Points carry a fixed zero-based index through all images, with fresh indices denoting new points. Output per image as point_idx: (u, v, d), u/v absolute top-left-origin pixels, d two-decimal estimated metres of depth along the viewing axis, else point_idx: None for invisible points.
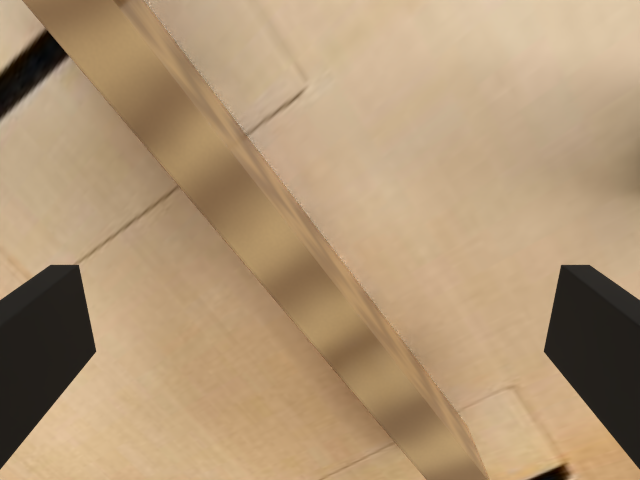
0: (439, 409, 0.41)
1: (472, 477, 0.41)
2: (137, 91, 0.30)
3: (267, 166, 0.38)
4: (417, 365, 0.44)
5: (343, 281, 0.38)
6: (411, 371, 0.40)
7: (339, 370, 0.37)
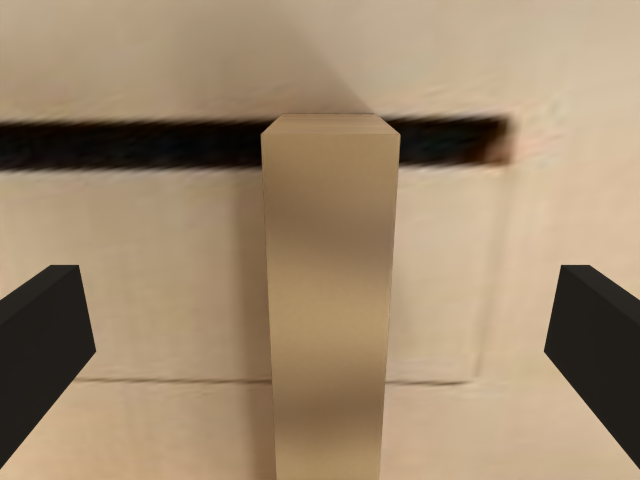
0: None
1: None
2: (323, 375, 0.18)
3: None
4: None
5: None
6: None
7: None
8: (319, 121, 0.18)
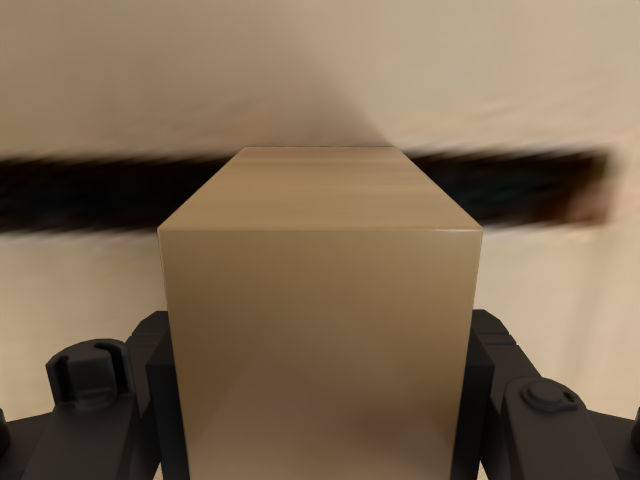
0: None
1: None
2: None
3: None
4: None
5: None
6: None
7: None
8: (301, 171, 0.10)
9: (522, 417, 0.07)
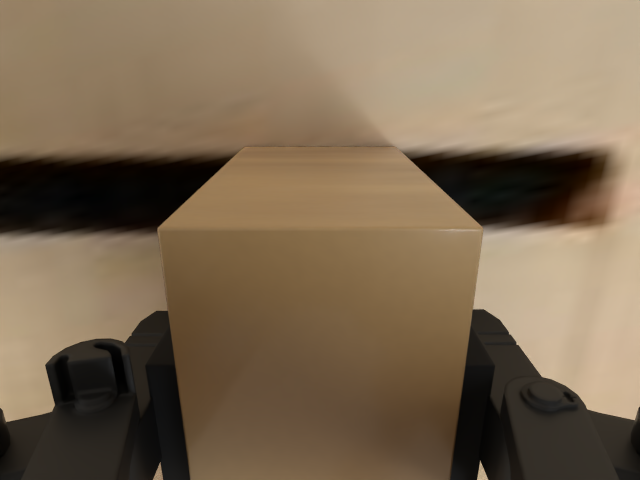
0: None
1: None
2: None
3: None
4: None
5: None
6: None
7: None
8: (301, 171, 0.10)
9: (522, 417, 0.07)
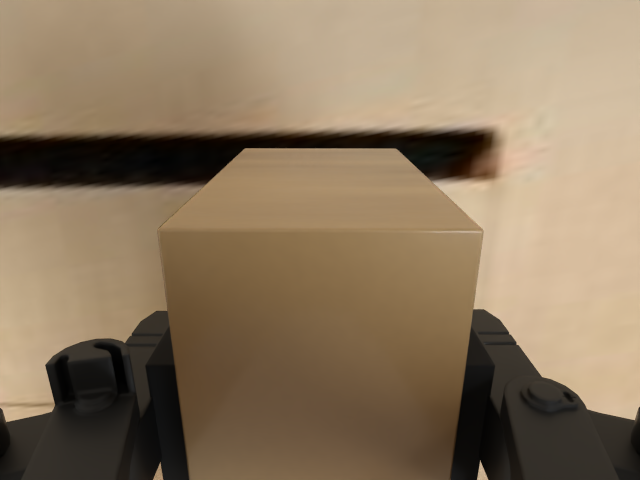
0: None
1: None
2: None
3: None
4: None
5: None
6: None
7: None
8: (301, 173, 0.10)
9: (522, 417, 0.07)
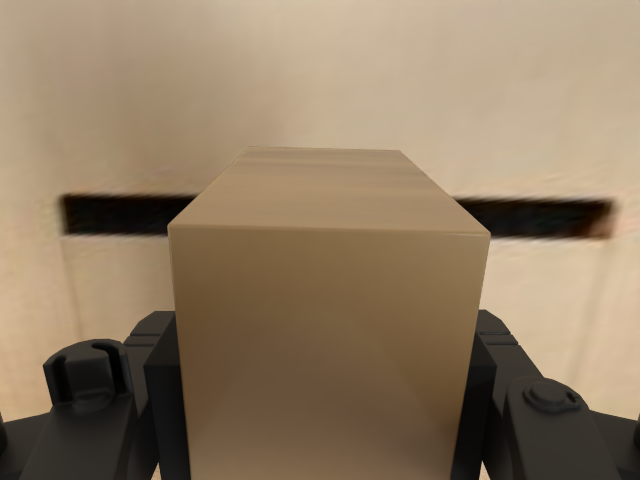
0: None
1: None
2: None
3: None
4: None
5: None
6: None
7: None
8: (307, 172, 0.10)
9: (525, 418, 0.07)
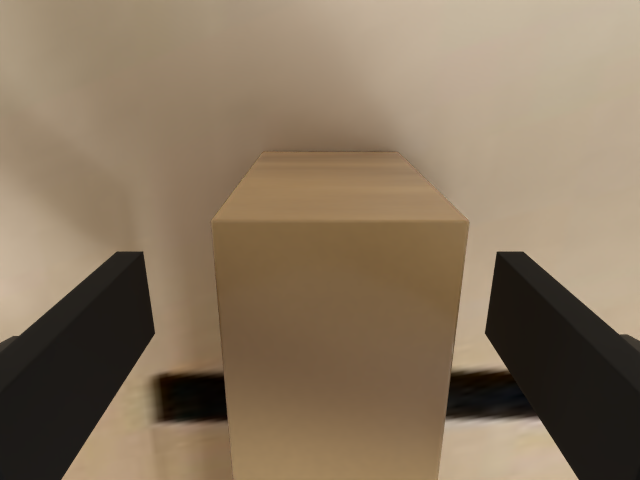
0: None
1: None
2: None
3: None
4: None
5: None
6: None
7: None
8: (317, 174, 0.12)
9: None
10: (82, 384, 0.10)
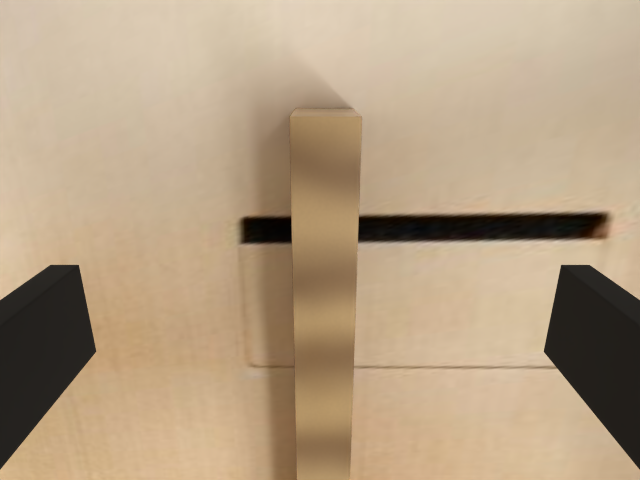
0: None
1: None
2: (322, 256, 0.32)
3: None
4: None
5: None
6: None
7: None
8: (319, 111, 0.32)
9: None
10: None
